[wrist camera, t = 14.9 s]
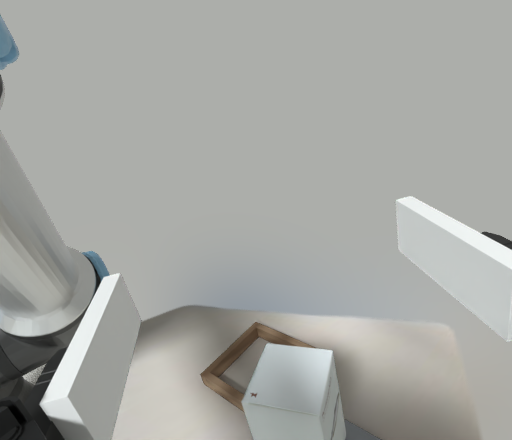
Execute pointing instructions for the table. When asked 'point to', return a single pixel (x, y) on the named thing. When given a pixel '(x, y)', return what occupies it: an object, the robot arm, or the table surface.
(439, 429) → the table surface
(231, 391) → the walnut holder
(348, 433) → the slate trivet
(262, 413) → the supplement box
